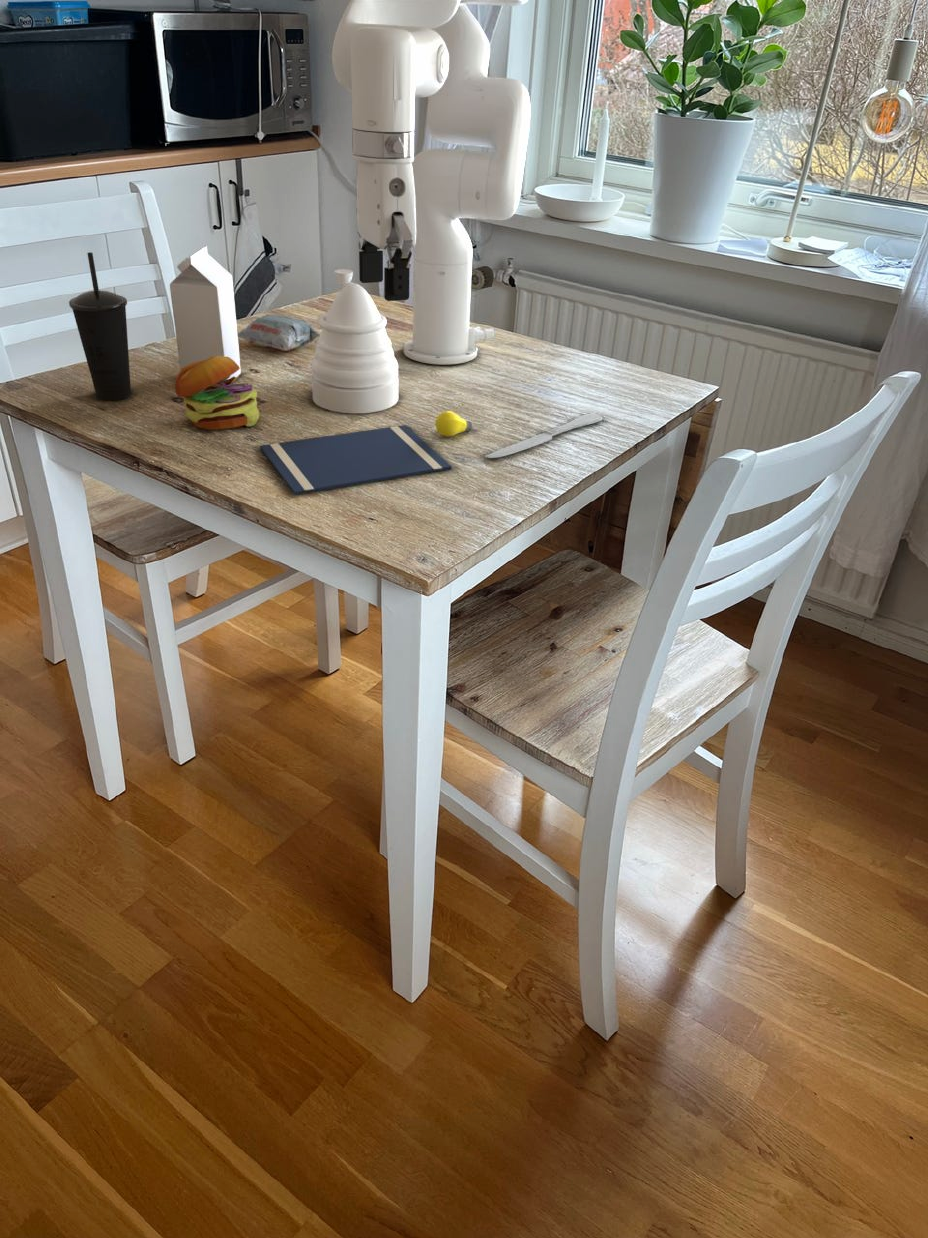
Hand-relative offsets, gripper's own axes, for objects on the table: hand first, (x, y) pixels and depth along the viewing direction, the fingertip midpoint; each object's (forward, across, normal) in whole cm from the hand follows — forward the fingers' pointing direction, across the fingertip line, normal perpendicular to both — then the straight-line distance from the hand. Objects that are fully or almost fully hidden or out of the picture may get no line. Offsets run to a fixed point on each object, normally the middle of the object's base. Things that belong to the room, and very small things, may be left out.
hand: (383, 290), depth 124 cm
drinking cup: (+18, +23, +34) cm, 45 cm away
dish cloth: (+18, -10, +8) cm, 23 cm away
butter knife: (+18, -12, -20) cm, 29 cm away
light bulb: (+18, -7, -8) cm, 21 cm away
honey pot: (+18, +11, +1) cm, 21 cm away
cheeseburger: (+19, +8, +22) cm, 30 cm away
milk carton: (+18, +25, +19) cm, 37 cm away
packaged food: (+18, +38, +6) cm, 42 cm away
